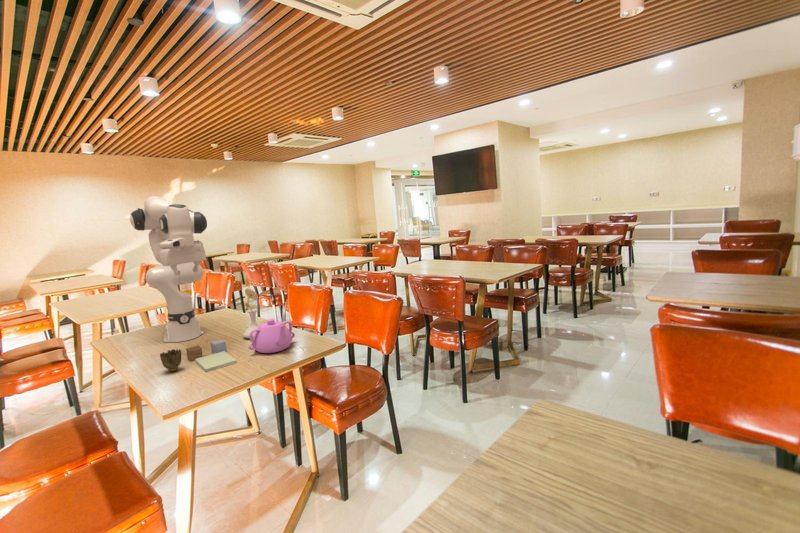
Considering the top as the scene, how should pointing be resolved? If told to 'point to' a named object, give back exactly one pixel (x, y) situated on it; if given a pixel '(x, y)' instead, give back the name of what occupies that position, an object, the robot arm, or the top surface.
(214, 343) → the slate block
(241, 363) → the top surface
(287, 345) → the teapot
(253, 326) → the flower in vase
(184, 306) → the robot arm
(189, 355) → the walnut block
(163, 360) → the dark brown round piece
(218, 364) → the base plate
